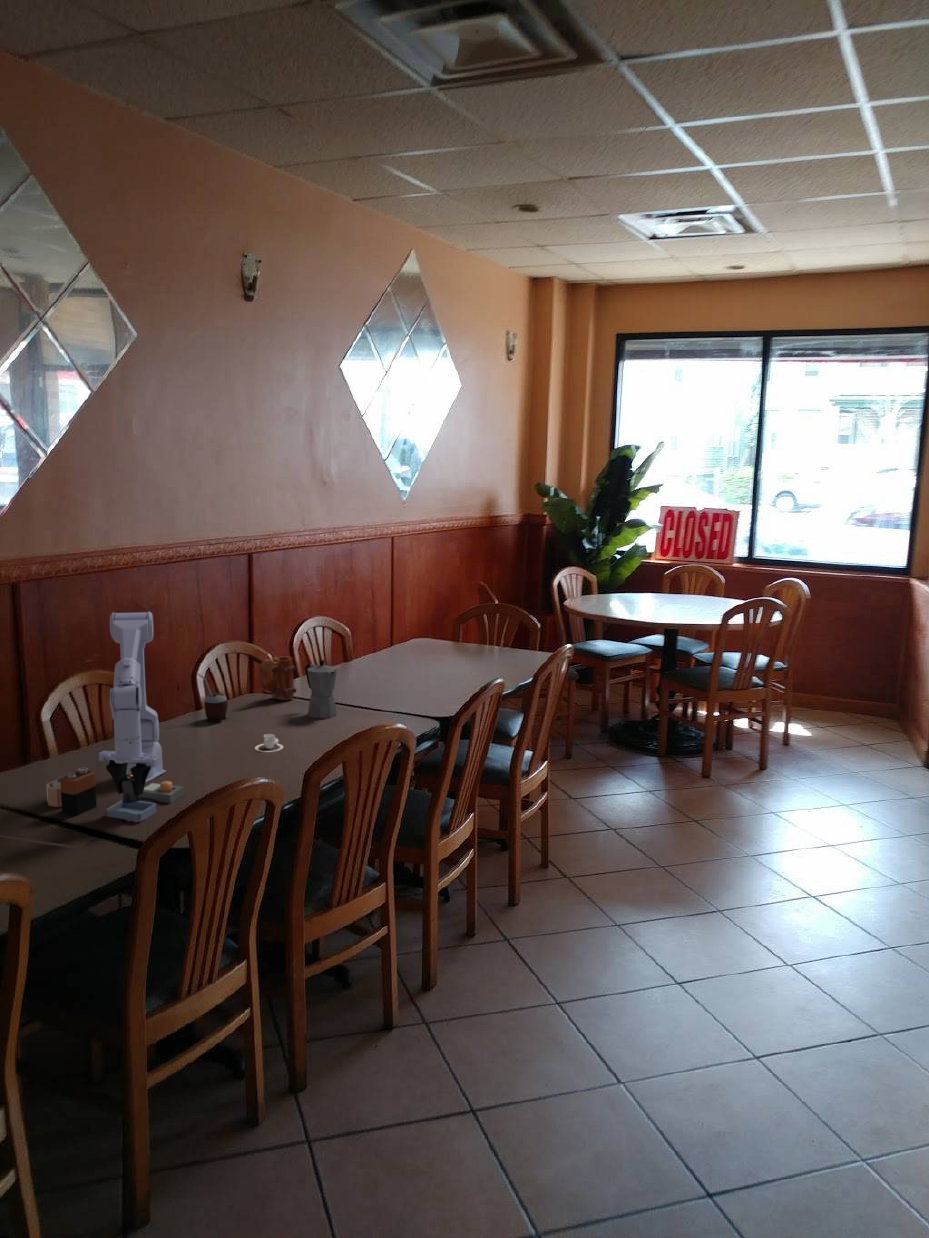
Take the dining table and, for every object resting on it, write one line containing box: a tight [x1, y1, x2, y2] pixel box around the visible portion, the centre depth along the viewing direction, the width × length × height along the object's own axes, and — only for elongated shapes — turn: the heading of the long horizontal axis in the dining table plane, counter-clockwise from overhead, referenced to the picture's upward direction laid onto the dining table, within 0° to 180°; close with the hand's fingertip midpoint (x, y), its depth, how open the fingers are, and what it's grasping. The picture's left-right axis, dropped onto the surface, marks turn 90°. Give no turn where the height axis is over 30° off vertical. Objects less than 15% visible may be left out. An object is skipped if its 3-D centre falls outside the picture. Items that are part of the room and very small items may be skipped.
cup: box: [46, 780, 62, 808], centre depth 223 cm, size 6×6×5 cm
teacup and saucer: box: [254, 733, 284, 753], centre depth 267 cm, size 9×8×4 cm
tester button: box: [159, 780, 173, 793], centre depth 228 cm, size 3×3×3 cm
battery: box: [60, 766, 98, 817], centre depth 218 cm, size 4×7×10 cm, turn 156°
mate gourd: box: [196, 672, 229, 724], centre depth 291 cm, size 8×8×15 cm
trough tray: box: [104, 799, 159, 823], centre depth 217 cm, size 7×9×2 cm
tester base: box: [140, 782, 185, 804], centre depth 229 cm, size 9×6×2 cm, turn 75°
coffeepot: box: [304, 659, 338, 719], centre depth 299 cm, size 15×9×18 cm, turn 44°
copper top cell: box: [121, 774, 141, 803], centre depth 216 cm, size 4×4×6 cm
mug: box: [258, 655, 297, 701], centre depth 314 cm, size 15×8×15 cm, turn 144°
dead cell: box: [52, 775, 65, 788], centre depth 223 cm, size 4×4×6 cm
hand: (130, 793), depth 216 cm, fingers closed on copper top cell, 4 cm apart
